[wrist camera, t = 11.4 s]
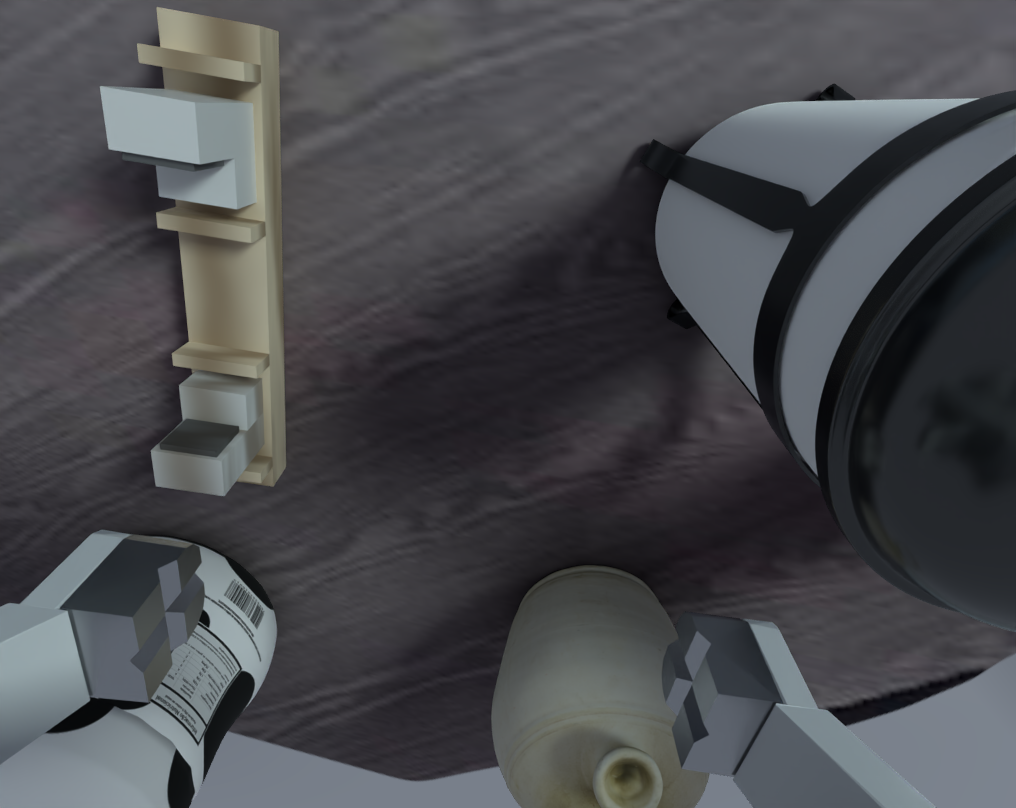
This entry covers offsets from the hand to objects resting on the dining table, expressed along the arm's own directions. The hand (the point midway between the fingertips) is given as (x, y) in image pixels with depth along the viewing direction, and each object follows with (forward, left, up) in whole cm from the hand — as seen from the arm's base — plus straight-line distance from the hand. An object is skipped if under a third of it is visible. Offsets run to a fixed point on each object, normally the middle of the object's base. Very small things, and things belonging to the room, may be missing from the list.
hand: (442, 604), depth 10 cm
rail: (+16, +5, -29) cm, 34 cm away
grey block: (+16, -3, -27) cm, 31 cm away
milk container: (+22, +34, -29) cm, 50 cm away
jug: (-12, +30, -29) cm, 44 cm away
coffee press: (-15, -3, -29) cm, 33 cm away
